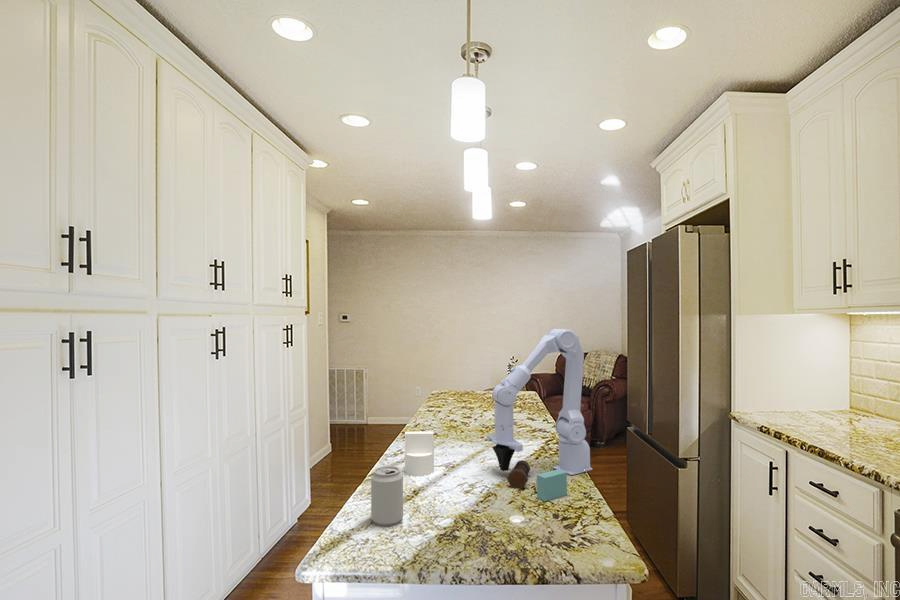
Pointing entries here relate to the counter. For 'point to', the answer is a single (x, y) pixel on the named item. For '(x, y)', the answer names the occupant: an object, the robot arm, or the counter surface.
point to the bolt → (519, 475)
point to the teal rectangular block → (551, 485)
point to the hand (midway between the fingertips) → (504, 470)
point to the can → (387, 495)
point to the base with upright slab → (419, 453)
